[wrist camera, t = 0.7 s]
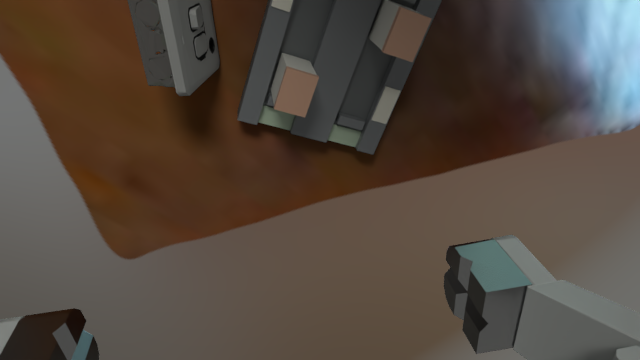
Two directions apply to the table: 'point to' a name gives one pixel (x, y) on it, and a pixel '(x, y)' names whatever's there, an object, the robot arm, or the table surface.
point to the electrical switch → (176, 42)
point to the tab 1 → (293, 85)
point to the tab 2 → (399, 30)
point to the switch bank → (329, 69)
